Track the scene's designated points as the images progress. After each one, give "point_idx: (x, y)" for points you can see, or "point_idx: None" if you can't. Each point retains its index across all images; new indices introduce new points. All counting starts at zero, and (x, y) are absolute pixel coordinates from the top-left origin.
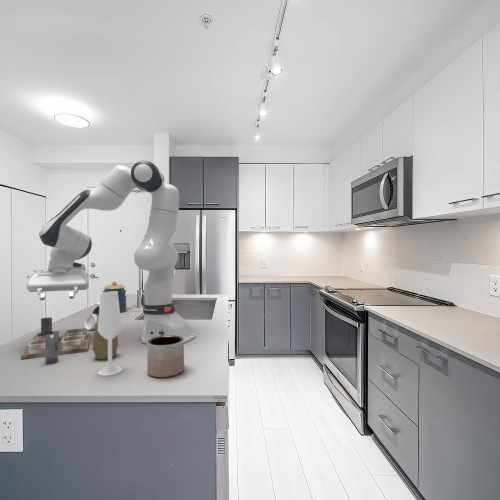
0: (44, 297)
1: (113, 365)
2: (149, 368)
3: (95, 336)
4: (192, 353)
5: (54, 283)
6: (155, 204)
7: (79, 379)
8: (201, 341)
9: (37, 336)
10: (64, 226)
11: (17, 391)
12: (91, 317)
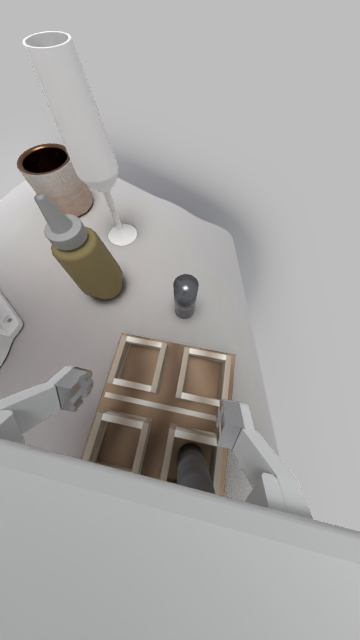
0: (220, 423)
1: (116, 227)
2: (89, 192)
3: (110, 254)
4: (5, 235)
5: (140, 519)
6: None
7: (159, 230)
8: None
9: (215, 460)
10: None
11: (220, 233)
12: None
